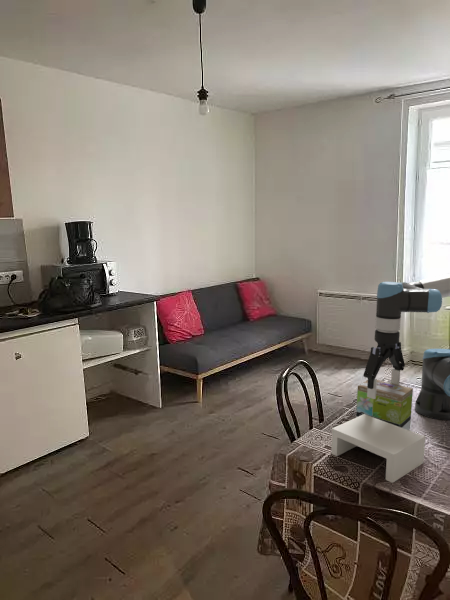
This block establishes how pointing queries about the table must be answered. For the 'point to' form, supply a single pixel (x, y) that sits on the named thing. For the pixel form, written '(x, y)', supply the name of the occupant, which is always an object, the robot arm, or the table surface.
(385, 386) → the tea box
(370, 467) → the table surface
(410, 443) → the white riser stand
